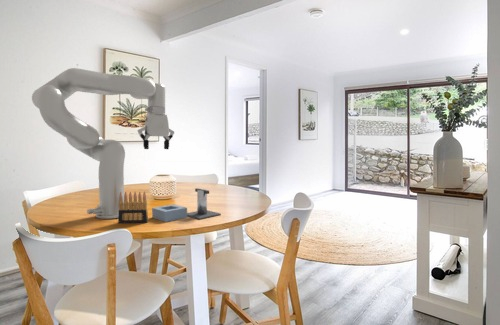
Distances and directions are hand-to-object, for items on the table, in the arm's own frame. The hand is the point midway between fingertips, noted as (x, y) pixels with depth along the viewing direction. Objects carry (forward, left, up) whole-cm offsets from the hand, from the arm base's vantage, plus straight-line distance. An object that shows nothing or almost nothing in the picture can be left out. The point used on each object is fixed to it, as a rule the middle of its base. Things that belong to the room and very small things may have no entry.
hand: (156, 149), depth 145 cm
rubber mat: (+6, -26, -28) cm, 38 cm away
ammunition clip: (-20, -17, -28) cm, 38 cm away
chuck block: (-6, -20, -28) cm, 34 cm away
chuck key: (+6, -26, -27) cm, 38 cm away
